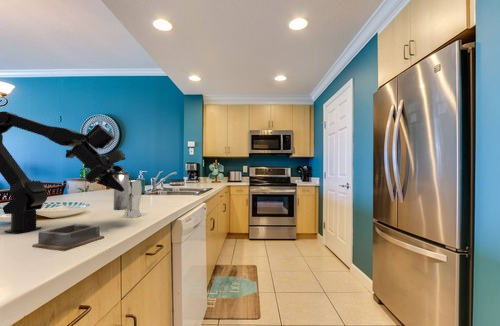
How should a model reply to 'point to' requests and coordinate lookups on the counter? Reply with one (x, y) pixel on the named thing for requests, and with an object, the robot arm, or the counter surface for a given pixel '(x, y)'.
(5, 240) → the counter surface
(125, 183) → the brushed metal canister
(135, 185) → the beer glass
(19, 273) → the counter surface
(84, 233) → the socket
